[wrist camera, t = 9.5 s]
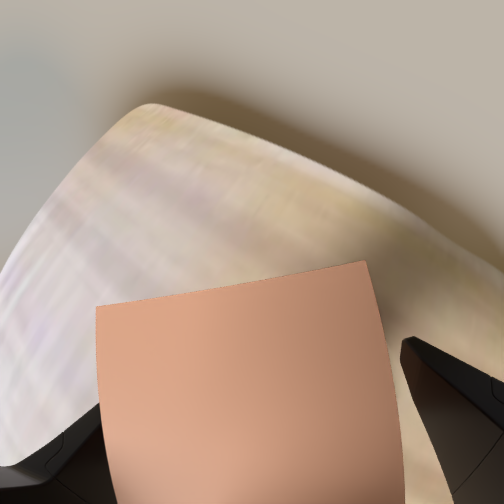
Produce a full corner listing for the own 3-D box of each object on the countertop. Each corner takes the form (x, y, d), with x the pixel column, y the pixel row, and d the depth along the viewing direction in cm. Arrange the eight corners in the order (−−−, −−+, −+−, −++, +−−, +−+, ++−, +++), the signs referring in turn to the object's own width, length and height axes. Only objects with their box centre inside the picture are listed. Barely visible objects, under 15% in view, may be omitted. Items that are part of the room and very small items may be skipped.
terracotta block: (330, 424, 14) (404, 528, 3) (245, 436, 15) (129, 541, 3) (317, 343, 16) (365, 259, 5) (233, 357, 17) (95, 306, 5)
